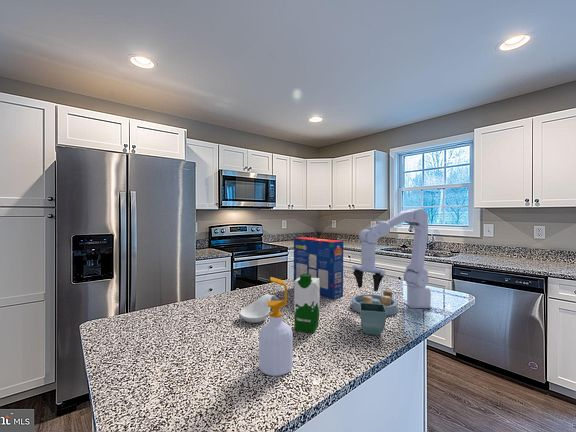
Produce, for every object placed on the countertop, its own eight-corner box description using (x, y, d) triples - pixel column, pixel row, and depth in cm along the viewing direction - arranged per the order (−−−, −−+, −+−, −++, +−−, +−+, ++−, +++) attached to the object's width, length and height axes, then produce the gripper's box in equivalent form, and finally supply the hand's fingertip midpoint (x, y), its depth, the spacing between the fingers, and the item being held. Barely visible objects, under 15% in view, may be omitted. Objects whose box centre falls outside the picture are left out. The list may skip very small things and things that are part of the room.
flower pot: (386, 338, 99) (387, 312, 99) (359, 336, 101) (360, 310, 100) (383, 328, 107) (383, 304, 107) (359, 326, 109) (359, 302, 109)
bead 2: (390, 300, 141) (390, 290, 141) (393, 303, 137) (393, 292, 137) (382, 300, 141) (382, 290, 141) (384, 303, 137) (384, 292, 137)
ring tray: (389, 301, 140) (389, 293, 140) (405, 316, 120) (405, 307, 120) (347, 300, 140) (347, 293, 140) (356, 315, 120) (356, 307, 120)
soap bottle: (259, 359, 84) (259, 274, 84) (290, 358, 85) (291, 274, 85) (258, 377, 75) (259, 282, 75) (294, 376, 76) (294, 281, 76)
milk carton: (291, 331, 104) (291, 275, 104) (299, 322, 113) (299, 270, 113) (315, 334, 101) (316, 277, 101) (321, 325, 110) (321, 272, 110)
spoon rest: (261, 328, 107) (261, 309, 107) (233, 323, 112) (233, 305, 112) (286, 308, 129) (286, 292, 129) (262, 305, 134) (262, 289, 134)
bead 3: (383, 306, 129) (383, 295, 129) (392, 308, 126) (392, 297, 126) (379, 308, 126) (379, 297, 126) (388, 311, 123) (388, 299, 123)
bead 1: (374, 308, 126) (374, 297, 126) (368, 310, 123) (368, 299, 123) (366, 306, 129) (366, 295, 129) (360, 308, 126) (360, 296, 126)
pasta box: (343, 296, 147) (343, 241, 147) (332, 299, 142) (333, 242, 141) (303, 285, 168) (304, 237, 168) (293, 288, 163) (293, 237, 162)
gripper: (348, 256, 128) (348, 287, 128) (379, 260, 118) (378, 294, 118) (357, 254, 133) (357, 284, 133) (387, 258, 123) (387, 291, 123)
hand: (367, 289), depth 126 cm, fingers open, 7 cm apart
